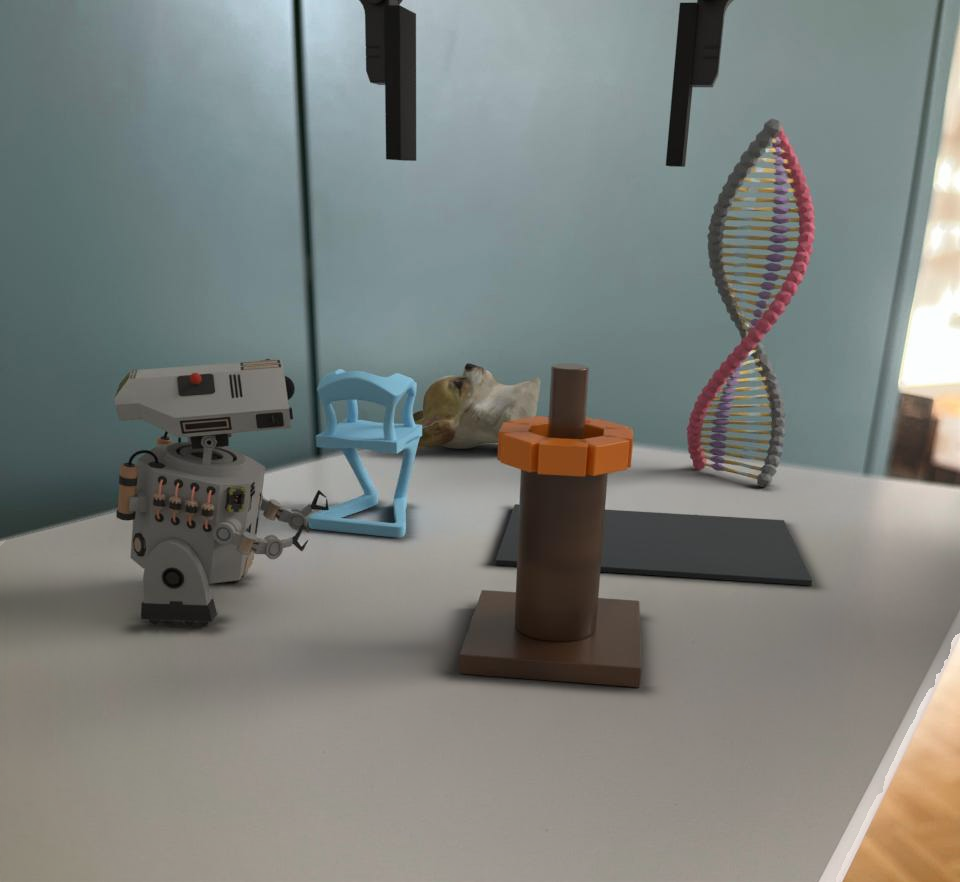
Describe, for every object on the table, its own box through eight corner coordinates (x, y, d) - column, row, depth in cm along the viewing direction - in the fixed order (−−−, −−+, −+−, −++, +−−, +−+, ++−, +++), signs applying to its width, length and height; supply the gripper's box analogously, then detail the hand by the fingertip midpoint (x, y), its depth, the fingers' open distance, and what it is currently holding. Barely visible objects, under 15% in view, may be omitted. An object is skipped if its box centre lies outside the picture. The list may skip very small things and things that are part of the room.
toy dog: (536, 370, 96) (378, 373, 98) (537, 462, 100) (385, 463, 102) (543, 354, 106) (400, 357, 108) (544, 438, 109) (405, 439, 111)
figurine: (306, 633, 62) (293, 379, 56) (116, 625, 62) (84, 373, 56) (331, 579, 71) (323, 353, 64) (164, 573, 71) (140, 348, 65)
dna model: (722, 461, 103) (763, 125, 91) (798, 481, 97) (853, 122, 85) (662, 474, 98) (697, 119, 85) (739, 496, 91) (788, 117, 79)
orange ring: (630, 447, 60) (632, 419, 59) (631, 479, 53) (633, 449, 53) (506, 440, 61) (507, 413, 60) (492, 471, 54) (493, 441, 53)
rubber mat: (783, 524, 84) (784, 519, 84) (811, 585, 72) (812, 580, 71) (514, 508, 87) (514, 503, 86) (495, 564, 74) (495, 559, 74)
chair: (433, 508, 86) (433, 360, 81) (402, 538, 79) (400, 378, 74) (345, 499, 88) (341, 354, 83) (307, 528, 80) (299, 371, 75)
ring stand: (637, 617, 66) (662, 355, 59) (640, 687, 56) (669, 387, 50) (481, 606, 67) (488, 348, 60) (458, 673, 58) (463, 378, 51)
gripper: (232, -435, 41) (265, 156, 50) (894, -502, 36) (802, 167, 45) (304, -349, 48) (322, 159, 56) (871, -395, 43) (795, 169, 51)
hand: (534, 164), depth 51 cm, fingers open, 13 cm apart
